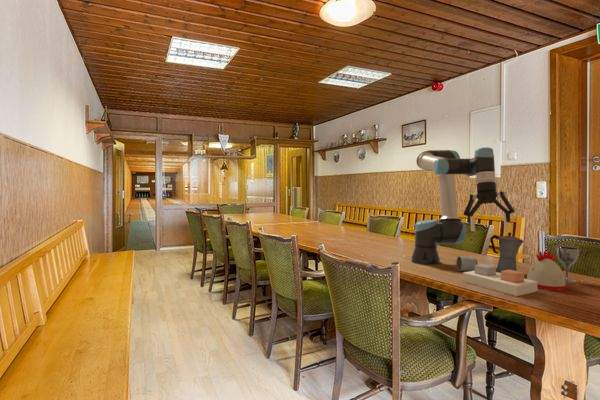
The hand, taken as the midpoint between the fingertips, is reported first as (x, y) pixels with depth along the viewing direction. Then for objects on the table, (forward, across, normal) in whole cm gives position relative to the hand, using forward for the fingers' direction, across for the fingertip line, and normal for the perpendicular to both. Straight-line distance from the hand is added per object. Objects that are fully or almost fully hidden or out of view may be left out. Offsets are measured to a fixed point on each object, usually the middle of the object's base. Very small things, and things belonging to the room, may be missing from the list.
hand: (489, 230), depth 154 cm
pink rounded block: (+21, +7, 0) cm, 22 cm away
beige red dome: (+24, +15, +18) cm, 33 cm away
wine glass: (+22, +19, +35) cm, 45 cm away
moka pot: (+19, -4, +31) cm, 36 cm away
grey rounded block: (+19, -4, +3) cm, 19 cm away
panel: (+24, +1, +2) cm, 24 cm away
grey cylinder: (+19, -20, +20) cm, 34 cm away
